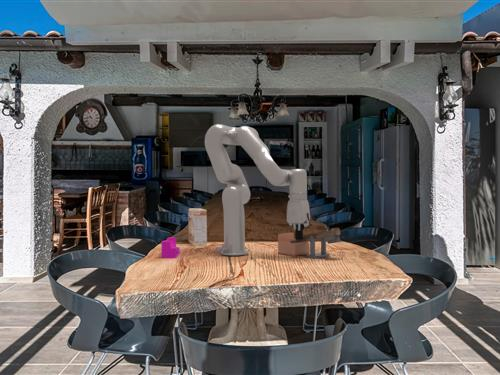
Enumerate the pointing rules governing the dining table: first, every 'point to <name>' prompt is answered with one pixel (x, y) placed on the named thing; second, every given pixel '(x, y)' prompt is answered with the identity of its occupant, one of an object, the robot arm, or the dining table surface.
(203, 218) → the coffeecake box
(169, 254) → the toy block
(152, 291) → the dining table surface
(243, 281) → the dining table surface
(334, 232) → the lever
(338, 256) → the dining table surface
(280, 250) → the cup
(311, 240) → the stand
